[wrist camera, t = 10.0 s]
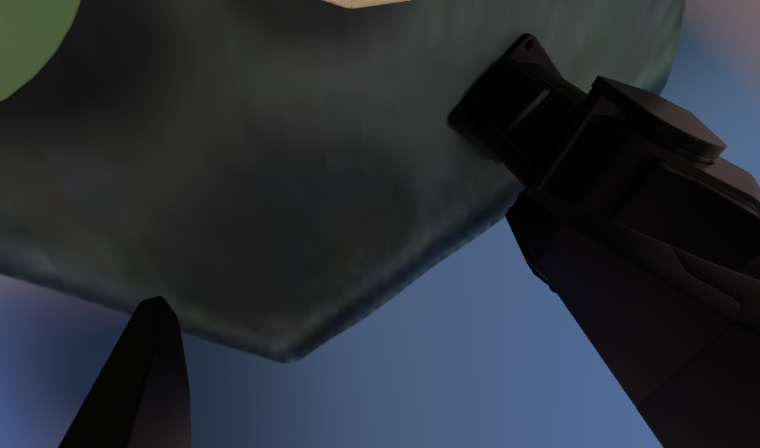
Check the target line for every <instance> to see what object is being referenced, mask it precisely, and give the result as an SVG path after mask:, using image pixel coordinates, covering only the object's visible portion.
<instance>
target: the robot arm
mask: <svg viewBox="0 0 760 448" xmlns="http://www.w3.org/2000/svg"><path fill="white" fill-rule="evenodd" d="M527 42H528V44H527V45H526V46H525V44H526V43H527ZM591 86H592V89H591V90H590V92H589V93H588V94H587V93H585V92H584V91H582V90H580V89H579V88H577V87H576V86H574V85H573V84H571V83H570V82H568V81H567V80H565V79H563V78H562V76H561V75H560V73H559V72H558V70H557V69H556V67H555V66H554V64H553V63H552V61H551V60H550V58H549V57H548V55H547V54H546V52H545V51H544V49H543V48H542V46H541V45H540V43H539V42H538V40H537V39H536V37H535V36H533V35H531V34H530V33H526V34H524V35H523V36H521V37H520V38H519V39H518V41H517V42H516V43H515V44H514V45H513V46H512V47H511V48H510V49H509V50H508V52H507V53H506V54H505V55H504V56H503V57H502V58H501V59H500V60H499V61H498V62H497V64H496V65H495V66H494V67H493V68H492V69H491V70H490V71H489V72H488V73H487V74H486V76H485V77H484V78H483V79H482V80H481V81H480V82H479V83H478V84H477V85H476V87H475V88H474V89H473V90H472V91H471V92H470V93H469V94H468V95H467V96H466V97H465V99H464V100H463V101H462V102H461V103H460V104H459V105H458V106H457V107H456V108H455V110H454V111H453V112H452V113H451V114H450V116H449V122H450V123H451V124H452V126H453V127H455V128H456V129H457V130H458V131H459V132H460V133H462V134H463V135H464V136H465V137H466V138H467V139H469V140H470V141H471V142H472V143H473V144H474V145H476V146H477V147H478V148H479V149H480V150H481V151H483V152H484V153H485V154H486V155H487V156H488V157H490V158H491V159H492V160H493V161H494V162H495V163H497V164H501V163H502V164H503V165H504V166H505V167H506V168H507V169H508V170H509V171H510V172H511V173H512V174H513V175H514V176H515V177H516V178H517V179H518V180H519V181H520V182H521V183H522V184H523V185H524V186H525V189H524V190H523V191H521V192H520V193H519V194H518V197H517V200H516V202H515V204H514V205H513V207H510V208H509V210H508V211H507V213H506V214H505V217H506V219H507V221H508V223H509V225H510V227H511V230H512V232H513V234H514V236H515V238H516V241H517V243H518V245H519V247H520V249H521V251H522V254H523V256H524V258H525V260H526V262H527V264H528V266H529V267H530V269H531V270H532V272H533V273H534V275H536V276H537V277H539V278H540V279H541V280H542V281H543V282H544V283H546V284H547V285H549V288H550V290H551V291H553V292H555V293H557V294H558V296H559V297H560V298H561V300H562V301H563V303H564V304H565V306H566V307H567V309H568V310H569V311H570V313H571V314H572V315H573V317H574V319H575V320H576V322H577V323H578V324H579V326H580V327H581V329H582V330H583V332H584V333H585V335H586V336H587V337H588V339H589V340H590V342H591V343H592V344H593V346H594V347H595V349H596V350H597V352H598V353H599V355H600V356H601V358H602V359H603V361H604V362H605V363H606V365H607V366H608V368H609V369H610V371H611V372H612V374H613V375H614V377H615V378H616V379H617V381H618V382H619V384H620V385H621V387H622V388H623V390H624V391H625V392H626V394H627V395H628V397H629V398H630V400H631V401H632V403H633V404H634V405H635V406H636V409H637V410H638V412H639V413H640V415H641V416H642V417H643V419H644V420H645V422H646V423H647V425H648V426H649V428H650V429H651V430H652V432H653V433H654V435H655V436H656V438H657V439H658V441H659V442H660V443H661V445H662V446H663V448H760V187H759V186H758V184H757V182H756V180H755V179H754V177H753V176H752V175H751V174H749V173H748V172H747V171H745V170H743V169H741V168H739V167H738V166H736V165H734V164H732V163H730V162H729V161H727V160H725V159H723V158H721V157H720V156H719V155H720V154H721V153H722V152H723V150H725V149H726V147H727V146H726V144H725V143H724V142H723V141H722V140H720V139H719V138H718V137H717V136H716V135H715V134H714V133H713V132H712V131H711V130H710V129H708V128H707V127H706V126H705V125H704V124H703V123H702V122H701V121H700V120H699V119H698V118H696V117H695V116H694V115H693V114H692V113H691V112H689V111H687V110H685V109H683V108H681V107H679V106H677V105H675V104H673V103H671V102H669V101H667V100H666V99H664V98H662V97H660V96H658V95H656V94H654V93H652V92H649V91H646V90H643V89H640V88H636V87H633V86H630V85H627V84H624V83H621V82H618V81H615V80H611V79H608V78H605V77H602V76H599V75H598V77H597V78H596V80H595V81H594V82H593V84H592V85H591ZM459 116H460V117H459ZM457 117H459V119H457V120H456V118H457ZM190 422H191V420H190V391H189V382H188V375H187V369H186V363H185V356H184V349H183V343H182V337H181V331H180V325H179V321H178V318H177V316H176V314H175V313H174V311H173V310H172V309H171V307H170V306H169V304H168V303H167V301H166V300H165V299H164V298H163V297H162V296H157V297H153V298H150V299H146V300H143V301H142V302H140V303H139V305H138V306H137V308H136V310H135V312H134V313H133V315H132V317H131V319H130V321H129V322H128V324H127V326H126V328H125V330H124V331H123V333H122V335H121V337H120V338H119V340H118V342H117V344H116V346H115V348H114V349H113V351H112V353H111V354H110V356H109V358H108V360H107V362H106V363H105V365H104V367H103V369H102V370H101V372H100V374H99V376H98V378H97V379H96V381H95V383H94V385H93V386H92V388H91V390H90V392H89V394H88V395H87V397H86V399H85V401H84V403H83V404H82V406H81V408H80V410H79V411H78V413H77V415H76V417H75V419H74V420H73V422H72V424H71V426H70V427H69V429H68V431H67V433H66V435H65V436H64V438H63V440H62V442H61V444H60V445H59V447H58V448H191V423H190Z"/></svg>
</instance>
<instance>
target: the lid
mask: <svg viewBox="0 0 760 448" xmlns="http://www.w3.org/2000/svg"><path fill="white" fill-rule="evenodd" d="M81 1H82V0H0V102H1V101H3V100H5V99H6V98H8V97H10V96H11V95H12V94H13V93H15V92H16V91H17V90H19V89H20V88H21V87H22V86H24V85H25V84H26V83H27V82H29V81H30V80H31V79H33V78H34V77H35V76H36V75H37V74H38V72H39V71H40V70H41V69H42V68H43V67H44V66H45V64H46V63H47V62H48V61H49V60H50V59H51V58H52V56H53V55H54V54H55V53H56V52H57V50H58V48H59V46H60V45H61V43H62V41H63V40H64V38H65V36H66V34H67V33H68V31H69V29H70V28H71V26H72V24H73V22H74V20H75V18H76V15H77V12H78V9H79V6H80V4H81Z"/></svg>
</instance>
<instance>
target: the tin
mask: <svg viewBox="0 0 760 448" xmlns="http://www.w3.org/2000/svg"><path fill="white" fill-rule="evenodd" d="M322 1H325V2H329V3H332V4H335V5H338V6H341V7H344V8H351V9H355V8H362V7H369V6H376V5H383V4H390V3H397V2H404V1H411V0H322Z"/></svg>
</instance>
